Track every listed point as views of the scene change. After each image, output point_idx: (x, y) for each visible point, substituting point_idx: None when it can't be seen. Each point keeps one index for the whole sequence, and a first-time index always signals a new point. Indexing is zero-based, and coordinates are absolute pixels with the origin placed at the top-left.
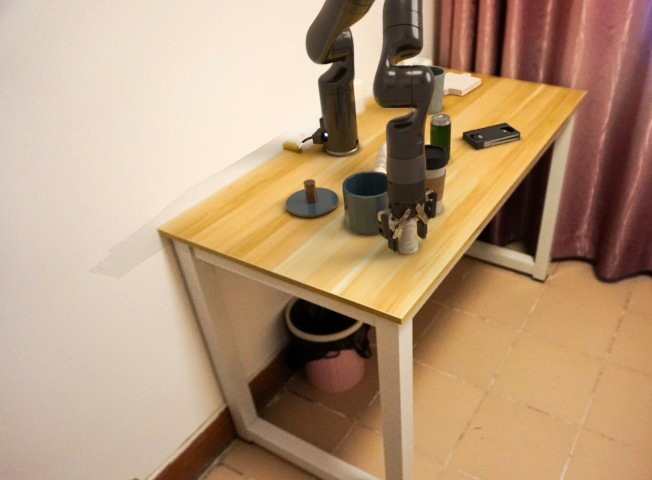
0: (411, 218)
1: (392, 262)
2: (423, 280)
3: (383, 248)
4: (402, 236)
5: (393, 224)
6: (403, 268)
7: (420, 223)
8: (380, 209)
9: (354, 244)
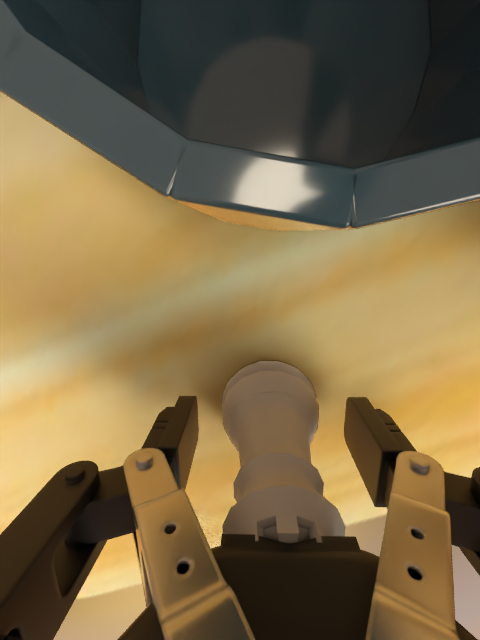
0: None
1: None
2: None
3: (185, 330)
4: (238, 448)
5: (141, 564)
6: None
7: (377, 483)
8: (247, 221)
9: (85, 214)
